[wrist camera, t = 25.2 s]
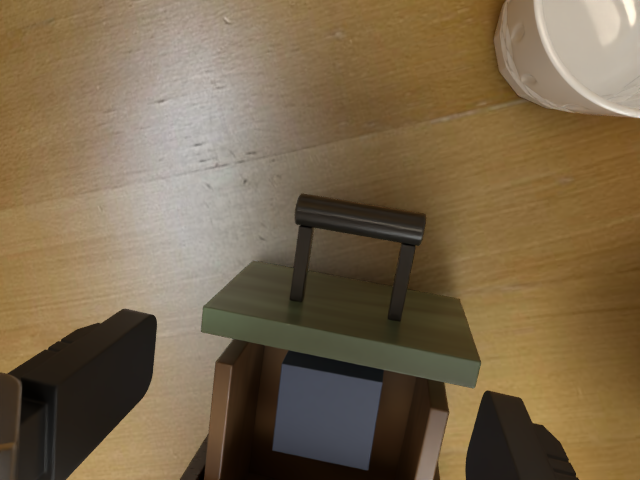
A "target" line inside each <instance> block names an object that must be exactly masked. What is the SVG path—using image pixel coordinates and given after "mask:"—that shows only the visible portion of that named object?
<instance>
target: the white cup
mask: <svg viewBox="0 0 640 480" xmlns="http://www.w3.org/2000/svg"><path fill="white" fill-rule="evenodd" d="M493 40H494V46H495V51H496V57H497V62H498V68H499V72H500V73H501V74H502V76H503V77H504V78H505V80H506V81H507V82H508V83H509V85H510V86H511V87H512V89H513V90H514V91H515V92H516V94H517V95H518V96H520V97H522V98H524V99H526V100H529V101H531V102H533V103H535V104H538V105H540V106H542V107H544V108H547V109H557V110H561V111H565V112H572V113H580V114H586V115H599V116H615V117H629V118H640V0H506V1H505V2H504V4H503V6H502V9H501V12H500V16H499V20H498V24H497V28H496V31H495V35H494V39H493Z"/></svg>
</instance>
